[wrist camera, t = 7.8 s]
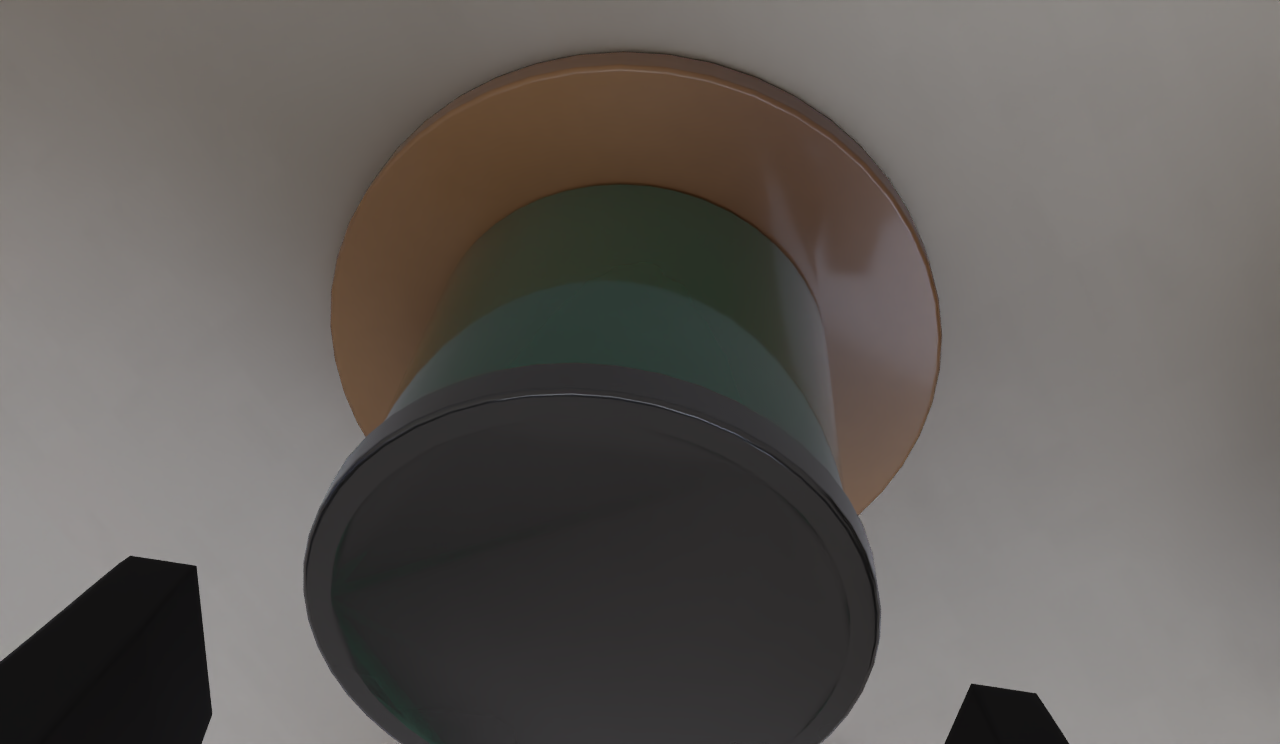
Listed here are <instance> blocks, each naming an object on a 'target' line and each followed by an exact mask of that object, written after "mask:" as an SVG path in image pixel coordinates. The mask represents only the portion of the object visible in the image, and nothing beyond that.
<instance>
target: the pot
mask: <svg viewBox="0 0 1280 744" xmlns="http://www.w3.org/2000/svg"><path fill="white" fill-rule="evenodd" d="M303 591H304V597H305V603H306V609H307V615H308V620H309V623H310V626H311V629H312V632H313V635H314V638H315V640H316V643H317V646H318V648H319V650H320V652H321V654H322V656H323V658H324V659H325V661H326V663H327V665H328V667H329V669H330V671H331V672H332V674H333V675H334V676H335V678H336V679H337V681H338V682H339V683H340V685H341V686H342V688H343V689H344V690H345V692H346V693H347V695H348V696H349V697H350V698H351V699H352V700H353V701H354V702H355V703H356V704H357V705H358V706H359V708H360V709H361V710H362V711H363V712H364V713H365V714H366V715H367V716H368V717H369V718H370V719H371V720H372V721H374V722H375V723H376V724H377V725H378V726H379V727H381V728H382V729H383V730H384V731H385V732H386V733H388V734H389V735H390V736H391V737H393V738H394V739H395V740H397V741H398V742H400V743H401V744H821V743H822V742H823V741H824V740H825V739H826V738H828V737H829V736H830V735H831V734H832V732H833V731H834V730H835V729H836V728H837V727H838V726H839V724H840V723H841V722H842V721H843V720H844V719H845V718H846V716H847V715H848V714H849V712H850V711H851V709H852V708H853V706H854V704H855V703H856V701H857V700H858V698H859V696H860V695H861V693H862V692H863V689H864V687H865V685H866V682H867V680H868V678H869V675H870V673H871V670H872V668H873V666H874V663H875V658H876V654H877V649H878V644H879V640H880V626H881V605H880V598H879V592H878V585H877V578H876V572H875V565H874V558H873V553H872V550H871V547H870V544H869V541H868V538H867V535H866V532H865V529H864V526H863V524H862V522H861V520H860V518H859V517H858V515H857V513H856V511H855V509H854V507H853V505H852V503H851V502H850V500H849V498H848V496H847V495H846V494H845V486H844V478H843V470H842V462H841V454H840V447H839V439H838V431H837V423H836V415H835V407H834V399H833V391H832V383H831V375H830V367H829V359H828V351H827V345H826V338H825V332H824V326H823V323H822V320H821V317H820V314H819V311H818V308H817V305H816V303H815V301H814V299H813V297H812V295H811V293H810V291H809V289H808V286H807V284H806V283H805V281H804V280H803V278H802V277H801V275H800V274H799V273H798V271H797V270H796V268H795V267H794V265H793V264H792V262H791V261H790V260H789V259H788V258H787V257H786V256H785V255H784V254H783V253H782V252H781V251H780V249H779V248H778V247H777V246H776V245H775V244H774V243H773V242H772V241H770V240H769V239H768V238H767V237H766V236H764V235H763V234H762V233H761V232H759V231H758V230H757V229H756V228H755V227H753V226H752V225H750V224H749V223H747V222H745V221H744V220H742V219H741V218H739V217H737V216H736V215H734V214H733V213H731V212H729V211H727V210H725V209H723V208H721V207H718V206H716V205H714V204H712V203H710V202H708V201H706V200H703V199H700V198H697V197H694V196H691V195H687V194H684V193H681V192H678V191H673V190H668V189H663V188H657V187H652V186H642V185H627V184H616V185H598V186H589V187H584V188H579V189H573V190H568V191H564V192H561V193H557V194H554V195H551V196H548V197H545V198H542V199H539V200H537V201H535V202H533V203H531V204H528V205H526V206H524V207H522V208H520V209H518V210H516V211H514V212H513V213H511V214H510V215H508V216H507V217H505V218H503V219H502V220H500V221H499V222H497V223H496V224H494V225H493V226H492V227H491V228H490V229H489V230H488V231H486V232H485V233H484V234H483V235H482V236H481V237H480V238H478V239H477V240H476V241H475V242H474V244H473V245H472V246H471V247H470V248H469V250H468V251H467V252H466V253H465V254H464V255H463V257H462V258H461V259H460V261H459V262H458V264H457V266H456V267H455V269H454V270H453V272H452V274H451V275H450V277H449V279H448V281H447V283H446V285H445V287H444V289H443V292H442V294H441V296H440V298H439V300H438V302H437V305H436V307H435V309H434V311H433V313H432V315H431V318H430V320H429V322H428V324H427V326H426V328H425V331H424V333H423V335H422V337H421V339H420V342H419V344H418V346H417V348H416V350H415V352H414V355H413V357H412V359H411V361H410V363H409V365H408V368H407V370H406V372H405V374H404V376H403V378H402V381H401V383H400V385H399V387H398V389H397V391H396V394H395V396H394V398H393V400H392V402H391V404H390V407H389V409H388V411H387V413H386V415H385V417H384V420H383V422H382V424H381V425H379V426H378V427H377V428H376V429H374V430H373V431H372V432H371V433H370V434H368V435H367V436H366V437H365V439H364V440H363V441H362V442H361V443H360V444H359V445H358V446H357V448H356V449H355V450H354V451H353V452H352V453H351V454H350V455H349V457H348V458H347V459H346V461H345V462H344V464H343V465H342V467H341V469H340V470H339V472H338V474H337V475H336V477H335V478H334V480H333V482H332V483H331V485H330V487H329V489H328V491H327V493H326V495H325V497H324V499H323V502H322V504H321V506H320V508H319V510H318V513H317V515H316V518H315V520H314V523H313V525H312V528H311V530H310V533H309V536H308V541H307V547H306V552H305V557H304V563H303Z"/></svg>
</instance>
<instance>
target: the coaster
mask: <svg viewBox="0 0 1280 744" xmlns="http://www.w3.org/2000/svg"><path fill="white" fill-rule="evenodd" d="M616 184H627V185H642V186H652V187H657V188H663V189H668V190H673V191H678V192H681V193H684V194H687V195H691V196H694V197H697V198H700V199H703V200H706V201H708V202H710V203H712V204H714V205H716V206H718V207H721V208H723V209H725V210H727V211H729V212H731V213H733V214H734V215H736V216H737V217H739V218H741V219H742V220H744V221H745V222H747V223H749V224H750V225H752V226H753V227H755V228H756V229H757V230H758V231H759V232H761V233H762V234H763V235H764V236H766V237H767V238H768V239H769V240H770V241H772V242H773V243H774V244H775V245H776V246H777V247H778V248H779V249H780V251H781V252H782V253H783V254H784V255H785V256H786V257H787V258H788V259H789V260H790V261H791V262H792V264H793V265H794V267H795V268H796V270H797V271H798V273H799V274H800V275H801V277H802V278H803V280H804V281H805V283H806V284H807V286H808V289H809V291H810V293H811V295H812V297H813V299H814V301H815V303H816V305H817V308H818V311H819V314H820V317H821V320H822V323H823V326H824V332H825V338H826V345H827V351H828V359H829V367H830V375H831V383H832V391H833V399H834V407H835V415H836V423H837V431H838V439H839V447H840V454H841V462H842V470H843V478H844V486H845V494H846V495H847V496H848V498H849V500H850V502H851V503H852V505H853V507H854V509H855V511H856V513H857V515H859V514H860V513H861V512H862V511H863V510H864V509H865V508H866V507H867V506H868V505H869V504H870V503H871V502H872V501H873V500H874V499H875V498H876V497H877V496H878V495H879V494H880V493H881V492H882V491H883V490H884V489H885V488H886V486H887V485H888V484H889V482H890V481H891V480H892V478H893V477H894V476H895V474H896V473H897V472H898V471H899V469H900V468H901V467H902V465H903V464H904V462H905V460H906V458H907V457H908V455H909V453H910V451H911V450H912V448H913V446H914V444H915V443H916V441H917V439H918V437H919V436H920V433H921V431H922V428H923V426H924V423H925V421H926V418H927V415H928V413H929V410H930V408H931V405H932V402H933V398H934V393H935V389H936V384H937V380H938V375H939V371H940V358H941V342H942V330H941V319H940V309H939V299H938V295H937V291H936V287H935V283H934V279H933V276H932V272H931V268H930V264H929V261H928V257H927V254H926V251H925V248H924V245H923V243H922V241H921V238H920V236H919V234H918V231H917V229H916V227H915V224H914V222H913V220H912V217H911V215H910V213H909V211H908V209H907V208H906V206H905V205H904V203H903V201H902V200H901V198H900V197H899V195H898V193H897V192H896V190H895V189H894V187H893V185H892V184H891V182H890V181H889V179H888V178H887V177H886V176H885V174H884V173H883V172H882V171H881V170H880V168H879V167H878V166H877V165H876V164H875V163H874V161H873V160H872V159H871V158H870V157H869V155H868V154H867V153H866V152H865V151H864V150H863V148H861V147H860V146H859V145H858V144H857V143H856V142H855V141H854V140H852V139H851V138H850V137H849V136H848V135H847V134H846V133H845V132H843V131H842V130H841V129H840V128H839V127H838V126H837V125H836V124H834V123H833V122H832V121H831V120H829V119H828V118H826V117H825V116H823V115H822V114H820V113H819V112H817V111H816V110H814V109H813V108H811V107H810V106H808V105H807V104H805V103H804V102H802V101H801V100H799V99H798V98H796V97H795V96H793V95H791V94H789V93H787V92H784V91H782V90H780V89H778V88H776V87H774V86H772V85H770V84H768V83H766V82H764V81H762V80H760V79H758V78H756V77H753V76H750V75H747V74H744V73H741V72H738V71H735V70H732V69H729V68H726V67H723V66H720V65H717V64H714V63H709V62H704V61H699V60H694V59H688V58H683V57H678V56H673V55H666V54H650V53H634V52H615V53H600V54H586V55H576V56H571V57H567V58H562V59H557V60H552V61H547V62H542V63H537V64H534V65H531V66H528V67H525V68H523V69H520V70H517V71H514V72H511V73H508V74H505V75H503V76H500V77H497V78H495V79H493V80H491V81H489V82H487V83H485V84H483V85H481V86H479V87H477V88H475V89H473V90H471V91H469V92H468V93H466V94H464V95H462V96H460V97H458V98H457V99H455V100H454V101H452V102H451V103H450V104H448V105H447V106H446V107H444V108H443V109H441V110H440V111H439V112H437V113H436V114H434V115H433V116H432V117H430V118H429V119H427V120H426V121H425V122H424V123H423V124H422V125H421V126H420V127H419V128H418V129H417V130H416V131H415V132H414V133H413V134H412V135H411V136H410V137H409V138H407V139H406V140H405V141H404V142H403V143H402V144H401V145H400V146H399V147H398V148H397V150H396V151H395V152H394V154H393V155H392V156H391V158H390V159H389V160H388V162H387V163H386V164H385V166H384V167H383V168H382V170H381V171H380V172H379V174H378V175H377V176H376V178H375V179H374V181H373V182H372V183H371V185H370V186H369V188H368V189H367V191H366V193H365V194H364V196H363V198H362V200H361V202H360V204H359V206H358V207H357V209H356V211H355V213H354V215H353V217H352V219H351V221H350V222H349V225H348V228H347V231H346V233H345V236H344V239H343V242H342V245H341V248H340V251H339V254H338V256H337V262H336V267H335V273H334V279H333V284H332V290H331V332H332V340H333V348H334V356H335V361H336V365H337V368H338V372H339V376H340V379H341V383H342V386H343V390H344V393H345V395H346V398H347V400H348V402H349V405H350V407H351V409H352V412H353V414H354V416H355V418H356V421H357V423H358V425H359V426H360V428H361V430H362V431H363V433H364V435H365V436H367V435H368V434H370V433H371V432H372V431H373V430H374V429H376V428H377V427H378V426H379V425H381V424H382V422H383V420H384V417H385V415H386V413H387V411H388V409H389V407H390V404H391V402H392V400H393V398H394V396H395V394H396V391H397V389H398V387H399V385H400V383H401V381H402V378H403V376H404V374H405V372H406V370H407V368H408V365H409V363H410V361H411V359H412V357H413V355H414V352H415V350H416V348H417V346H418V344H419V342H420V339H421V337H422V335H423V333H424V331H425V328H426V326H427V324H428V322H429V320H430V318H431V315H432V313H433V311H434V309H435V307H436V305H437V302H438V300H439V298H440V296H441V294H442V292H443V289H444V287H445V285H446V283H447V281H448V279H449V277H450V275H451V274H452V272H453V270H454V269H455V267H456V266H457V264H458V262H459V261H460V259H461V258H462V257H463V255H464V254H465V253H466V252H467V251H468V250H469V248H470V247H471V246H472V245H473V244H474V242H475V241H476V240H477V239H478V238H480V237H481V236H482V235H483V234H484V233H485V232H486V231H488V230H489V229H490V228H491V227H492V226H493V225H494V224H496V223H497V222H499V221H500V220H502V219H503V218H505V217H507V216H508V215H510V214H511V213H513V212H514V211H516V210H518V209H520V208H522V207H524V206H526V205H528V204H531V203H533V202H535V201H537V200H539V199H542V198H545V197H548V196H551V195H554V194H557V193H561V192H564V191H568V190H573V189H579V188H584V187H589V186H598V185H616Z"/></svg>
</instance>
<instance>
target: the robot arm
mask: <svg viewBox="0 0 1280 744" xmlns="http://www.w3.org/2000/svg"><path fill="white" fill-rule="evenodd" d="M211 716H212V708H211V698H210V689H209V679H208V670H207V661H206V651H205V642H204V632H203V623H202V614H201V604H200V595H199V585H198V576H197V567H196V566H194V565H187V564H181V563H174V562H168V561H161V560H154V559H148V558H141V557H135V556H129V557H128V558H126V559H125V560H123V561H122V562H121V563H119V564H118V565H117V566H115V567H114V568H113V569H112V570H111V571H109V572H108V573H107V574H106V575H104V576H103V577H102V578H101V579H100V580H98V581H97V582H96V583H95V584H94V585H92V586H91V587H90V588H89V589H88V590H86V591H85V592H84V593H83V594H82V595H80V596H79V597H78V598H77V599H76V600H74V601H73V602H72V603H71V604H70V605H68V606H67V607H66V608H65V609H64V610H62V611H61V612H60V613H59V614H58V615H57V616H55V617H54V618H53V619H52V620H51V621H49V622H48V623H47V624H46V625H44V626H43V627H42V628H41V629H40V630H38V631H37V632H36V633H35V634H34V635H32V636H31V637H30V638H29V639H28V640H26V641H25V642H24V643H23V644H21V645H20V646H19V647H18V648H17V649H15V650H14V651H13V652H12V653H10V654H9V655H8V656H7V657H6V658H4V659H3V660H2V661H1V662H0V744H201V743H202V741H203V738H204V735H205V733H206V730H207V727H208V724H209V722H210V719H211ZM945 744H1069V743H1068V741H1067V740H1066V738H1065V737H1064V735H1063V733H1062V732H1061V730H1060V729H1059V727H1058V726H1057V724H1056V723H1055V721H1054V719H1053V718H1052V716H1051V715H1050V713H1049V712H1048V710H1047V709H1046V707H1045V706H1044V704H1043V703H1042V701H1041V700H1040V698H1039V697H1038V695H1037V694H1036V693H1030V692H1023V691H1016V690H1010V689H1003V688H997V687H990V686H983V685H977V684H971V685H970V688H969V690H968V692H967V694H966V697H965V699H964V701H963V703H962V706H961V708H960V710H959V712H958V715H957V717H956V719H955V721H954V724H953V726H952V728H951V730H950V733H949V735H948V737H947V739H946V742H945Z"/></svg>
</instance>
